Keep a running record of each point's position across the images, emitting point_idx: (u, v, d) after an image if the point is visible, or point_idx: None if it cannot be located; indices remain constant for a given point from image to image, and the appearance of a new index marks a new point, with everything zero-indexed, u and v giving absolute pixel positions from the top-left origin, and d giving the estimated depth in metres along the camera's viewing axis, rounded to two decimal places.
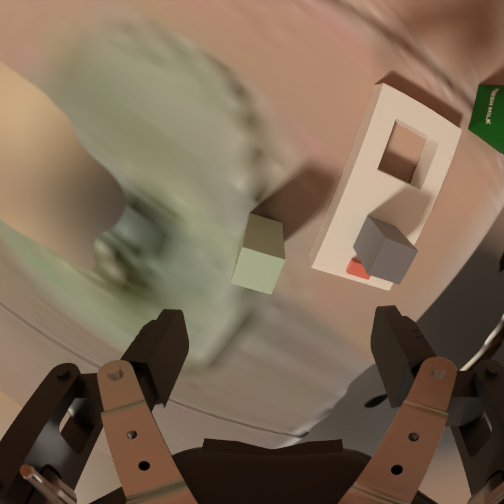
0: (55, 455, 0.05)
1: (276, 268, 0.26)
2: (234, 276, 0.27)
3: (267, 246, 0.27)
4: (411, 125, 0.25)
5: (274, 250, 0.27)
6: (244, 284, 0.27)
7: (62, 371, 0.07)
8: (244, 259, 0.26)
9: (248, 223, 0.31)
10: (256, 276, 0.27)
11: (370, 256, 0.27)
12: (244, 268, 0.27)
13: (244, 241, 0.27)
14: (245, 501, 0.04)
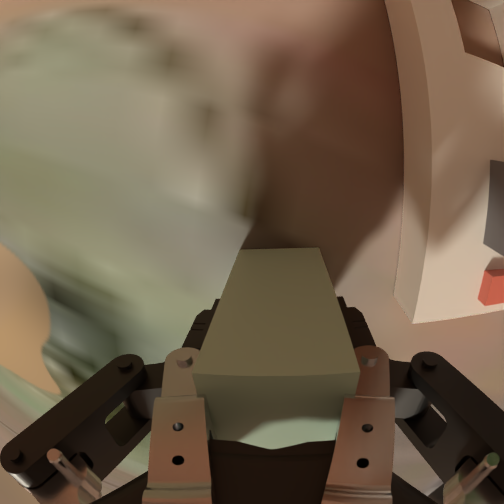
0: (93, 444, 0.06)
1: (336, 402, 0.06)
2: None
3: (289, 335, 0.08)
4: None
5: (312, 345, 0.07)
6: None
7: (124, 363, 0.08)
8: (220, 404, 0.07)
9: (232, 276, 0.12)
10: (279, 433, 0.07)
11: None
12: (234, 423, 0.07)
13: (206, 344, 0.08)
14: (245, 501, 0.04)
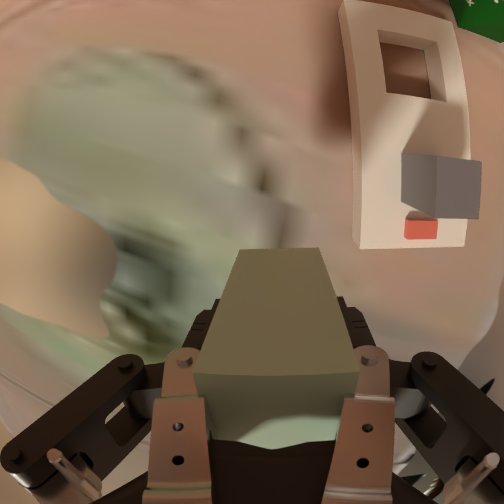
0: (93, 444, 0.06)
1: (336, 401, 0.06)
2: None
3: (289, 335, 0.08)
4: (397, 31, 0.16)
5: (312, 345, 0.07)
6: None
7: (124, 363, 0.08)
8: (221, 404, 0.07)
9: (232, 276, 0.12)
10: (279, 433, 0.07)
11: (427, 194, 0.16)
12: (234, 423, 0.07)
13: (206, 343, 0.08)
14: (245, 501, 0.04)
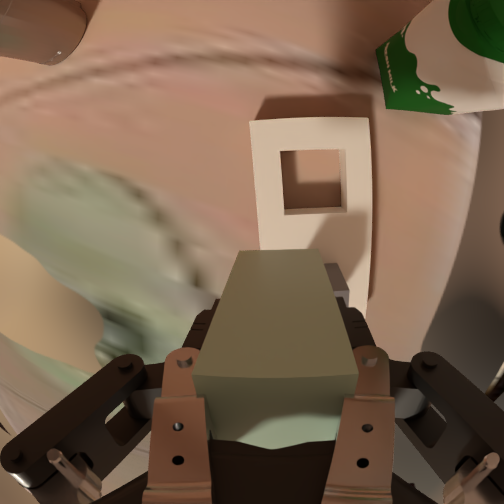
0: (93, 444, 0.06)
1: (335, 403, 0.06)
2: None
3: (288, 337, 0.08)
4: (301, 148, 0.25)
5: (311, 347, 0.07)
6: None
7: (124, 363, 0.08)
8: (220, 405, 0.07)
9: (232, 277, 0.12)
10: (278, 434, 0.07)
11: None
12: (233, 424, 0.07)
13: (206, 345, 0.08)
14: (245, 501, 0.04)
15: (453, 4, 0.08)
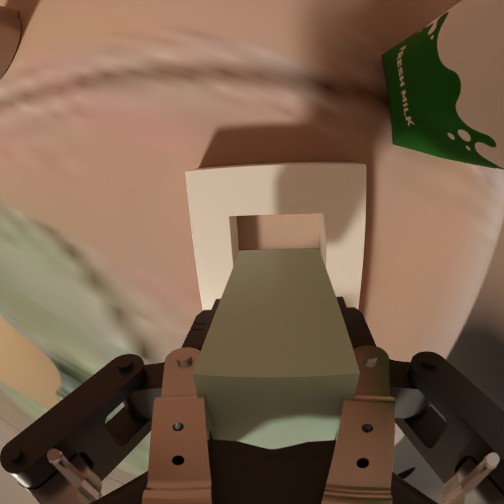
0: (93, 444, 0.06)
1: (336, 403, 0.06)
2: None
3: (289, 336, 0.08)
4: (260, 212, 0.18)
5: (312, 346, 0.07)
6: None
7: (124, 363, 0.08)
8: (221, 405, 0.07)
9: (232, 277, 0.12)
10: (279, 434, 0.07)
11: None
12: (234, 424, 0.07)
13: (206, 345, 0.08)
14: (245, 501, 0.04)
15: None
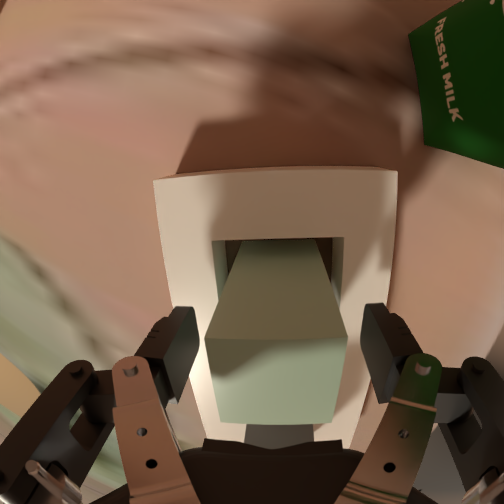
0: (63, 452, 0.05)
1: (328, 366, 0.08)
2: (222, 408, 0.09)
3: (287, 309, 0.09)
4: (254, 236, 0.13)
5: (307, 316, 0.09)
6: (255, 419, 0.09)
7: (75, 368, 0.07)
8: (228, 368, 0.08)
9: (236, 262, 0.13)
10: (278, 398, 0.08)
11: None
12: (238, 388, 0.08)
13: (215, 315, 0.09)
14: (245, 501, 0.04)
15: None
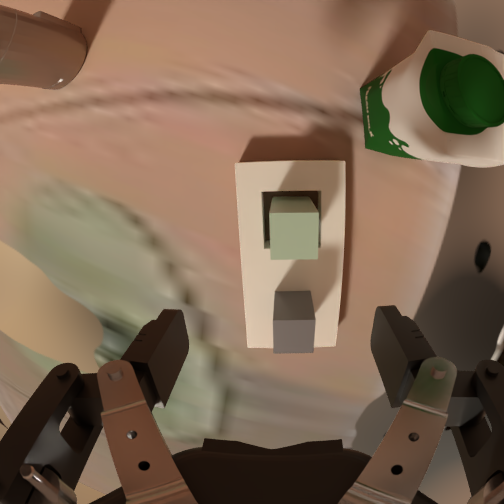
0: (55, 455, 0.05)
1: (313, 225, 0.23)
2: (272, 250, 0.24)
3: (297, 208, 0.25)
4: (281, 189, 0.28)
5: (304, 209, 0.24)
6: (285, 256, 0.24)
7: (61, 371, 0.07)
8: (276, 226, 0.24)
9: (272, 201, 0.29)
10: (295, 242, 0.24)
11: None
12: (280, 236, 0.24)
13: (271, 210, 0.24)
14: (245, 501, 0.04)
15: (425, 71, 0.12)
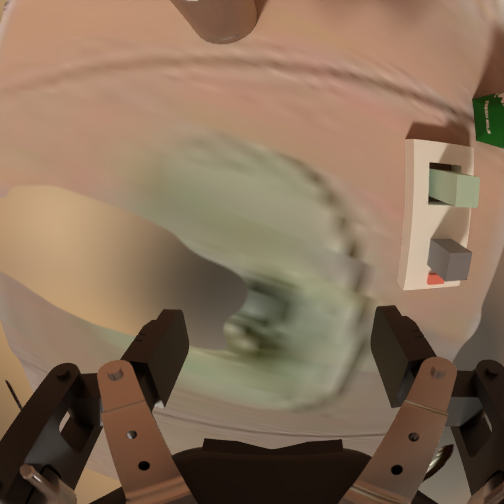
0: (55, 455, 0.05)
1: (476, 185, 0.27)
2: (456, 200, 0.28)
3: (464, 174, 0.29)
4: (440, 162, 0.32)
5: (469, 175, 0.28)
6: (463, 204, 0.28)
7: (61, 371, 0.07)
8: (460, 184, 0.28)
9: (436, 170, 0.33)
10: (468, 195, 0.28)
11: (442, 268, 0.33)
12: (461, 191, 0.28)
13: (453, 173, 0.28)
14: (245, 501, 0.04)
15: None
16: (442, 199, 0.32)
